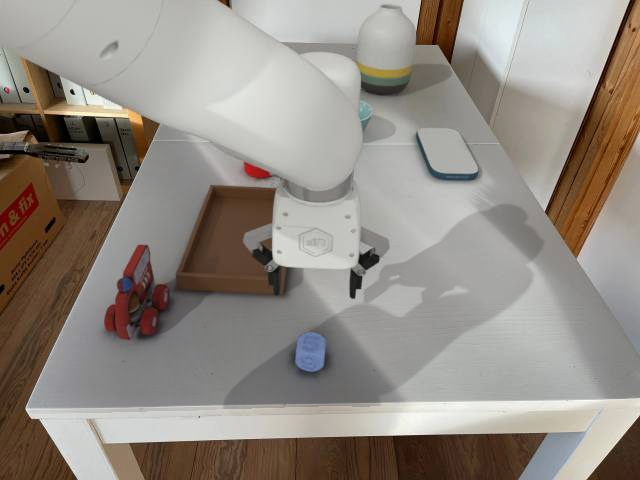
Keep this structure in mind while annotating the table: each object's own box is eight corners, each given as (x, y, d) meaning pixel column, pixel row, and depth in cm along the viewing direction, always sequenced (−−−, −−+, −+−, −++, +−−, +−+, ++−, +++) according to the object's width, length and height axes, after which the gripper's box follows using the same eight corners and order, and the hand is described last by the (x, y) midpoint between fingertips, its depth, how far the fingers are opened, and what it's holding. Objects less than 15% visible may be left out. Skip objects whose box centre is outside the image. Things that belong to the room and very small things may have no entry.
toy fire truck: (102, 346, 73) (83, 295, 67) (133, 287, 83) (120, 239, 76) (148, 350, 73) (134, 300, 66) (174, 291, 82) (164, 242, 76)
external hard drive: (413, 134, 131) (414, 127, 130) (456, 134, 132) (457, 128, 131) (431, 181, 113) (432, 173, 112) (480, 182, 113) (483, 174, 112)
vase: (355, 77, 162) (361, -3, 147) (407, 80, 161) (419, 0, 146) (353, 97, 149) (359, 12, 134) (409, 101, 148) (422, 16, 133)
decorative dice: (325, 351, 74) (326, 333, 71) (323, 373, 71) (324, 355, 68) (298, 348, 74) (299, 330, 72) (295, 370, 71) (295, 352, 68)
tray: (283, 294, 83) (283, 280, 81) (178, 289, 83) (175, 275, 81) (295, 202, 104) (295, 188, 102) (212, 198, 104) (210, 184, 102)
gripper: (231, 191, 50) (243, 308, 61) (402, 198, 50) (383, 314, 61) (243, 154, 56) (252, 267, 67) (396, 161, 56) (380, 272, 67)
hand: (314, 289), depth 64 cm, fingers open, 9 cm apart
